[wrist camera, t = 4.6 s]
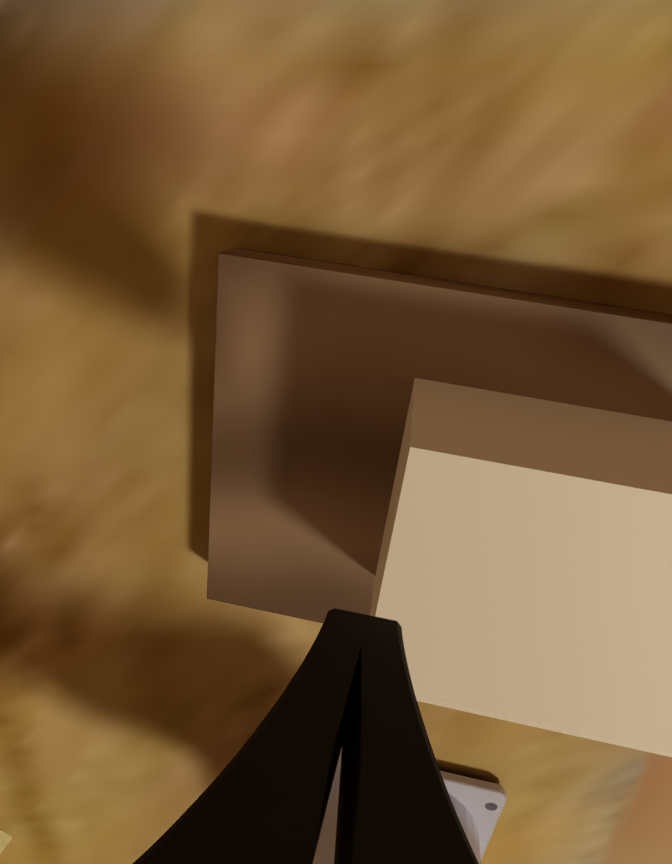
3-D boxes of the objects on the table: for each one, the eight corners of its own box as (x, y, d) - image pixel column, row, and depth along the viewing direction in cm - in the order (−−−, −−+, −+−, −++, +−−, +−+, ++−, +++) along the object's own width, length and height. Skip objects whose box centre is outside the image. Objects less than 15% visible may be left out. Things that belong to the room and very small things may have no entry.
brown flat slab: (648, 660, 20) (664, 695, 18) (221, 572, 21) (206, 598, 20) (814, 337, 14) (853, 351, 13) (236, 248, 16) (218, 253, 15)
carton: (375, 576, 18) (622, 626, 17) (360, 688, 14) (681, 759, 13) (414, 377, 15) (714, 428, 14) (409, 447, 11) (826, 522, 10)
